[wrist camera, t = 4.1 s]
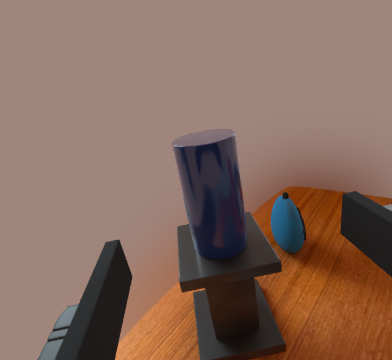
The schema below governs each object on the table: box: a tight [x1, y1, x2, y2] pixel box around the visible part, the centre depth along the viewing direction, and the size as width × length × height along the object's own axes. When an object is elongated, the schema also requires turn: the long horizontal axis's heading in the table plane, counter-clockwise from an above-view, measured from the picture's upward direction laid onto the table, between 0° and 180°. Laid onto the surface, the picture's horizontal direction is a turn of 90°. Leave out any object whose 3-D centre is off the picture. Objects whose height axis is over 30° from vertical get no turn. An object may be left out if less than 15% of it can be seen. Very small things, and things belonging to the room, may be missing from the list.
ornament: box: [271, 192, 306, 253], centre depth 38 cm, size 8×5×10 cm, turn 1°
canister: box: [172, 129, 248, 259], centre depth 23 cm, size 6×6×11 cm
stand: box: [177, 212, 286, 360], centre depth 27 cm, size 9×9×12 cm
